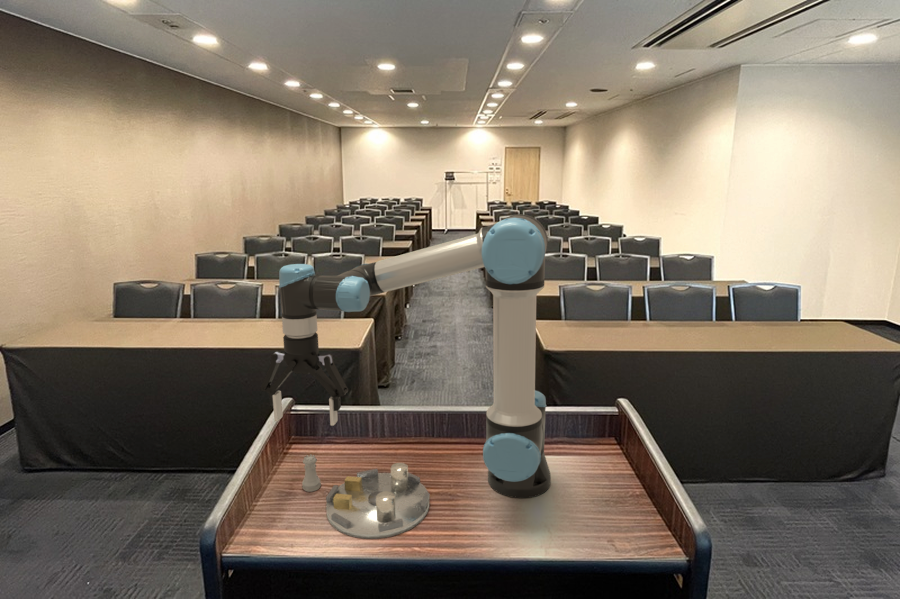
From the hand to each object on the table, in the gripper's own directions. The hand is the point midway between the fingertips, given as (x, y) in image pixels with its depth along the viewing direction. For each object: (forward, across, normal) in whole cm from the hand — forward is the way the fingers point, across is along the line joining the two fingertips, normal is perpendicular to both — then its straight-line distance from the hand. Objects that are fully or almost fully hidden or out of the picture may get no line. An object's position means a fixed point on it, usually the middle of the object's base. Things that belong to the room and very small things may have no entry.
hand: (306, 421), depth 129 cm
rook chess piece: (+17, 0, 0) cm, 17 cm away
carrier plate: (+17, -18, +5) cm, 25 cm away
